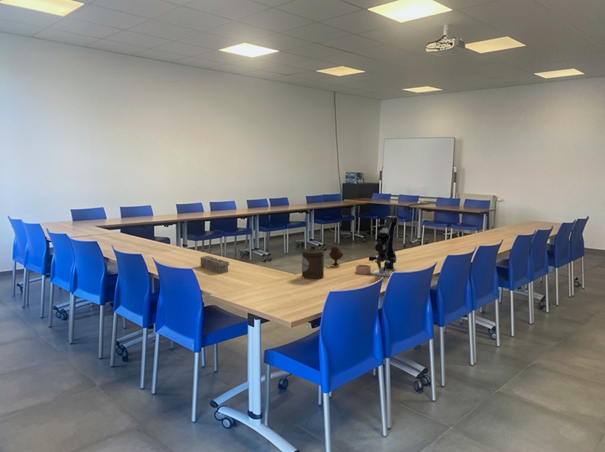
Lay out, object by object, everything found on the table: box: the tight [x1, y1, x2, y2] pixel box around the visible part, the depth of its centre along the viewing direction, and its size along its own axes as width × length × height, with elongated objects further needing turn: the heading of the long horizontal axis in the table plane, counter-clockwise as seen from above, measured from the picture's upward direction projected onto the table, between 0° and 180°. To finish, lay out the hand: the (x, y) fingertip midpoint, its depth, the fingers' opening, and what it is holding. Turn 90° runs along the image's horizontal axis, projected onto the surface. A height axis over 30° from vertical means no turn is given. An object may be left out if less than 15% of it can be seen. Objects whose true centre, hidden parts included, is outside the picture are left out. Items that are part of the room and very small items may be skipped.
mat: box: [369, 270, 391, 278], centre depth 306 cm, size 14×14×1 cm
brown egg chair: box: [328, 245, 344, 267], centre depth 331 cm, size 11×11×15 cm
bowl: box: [355, 264, 372, 275], centre depth 308 cm, size 10×10×5 cm
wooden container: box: [301, 244, 325, 280], centre depth 293 cm, size 15×15×22 cm
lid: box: [371, 266, 393, 277], centre depth 305 cm, size 12×12×4 cm
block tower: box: [199, 255, 230, 274], centre depth 311 cm, size 8×8×29 cm
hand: (382, 271), depth 305 cm, fingers closed on lid, 2 cm apart
